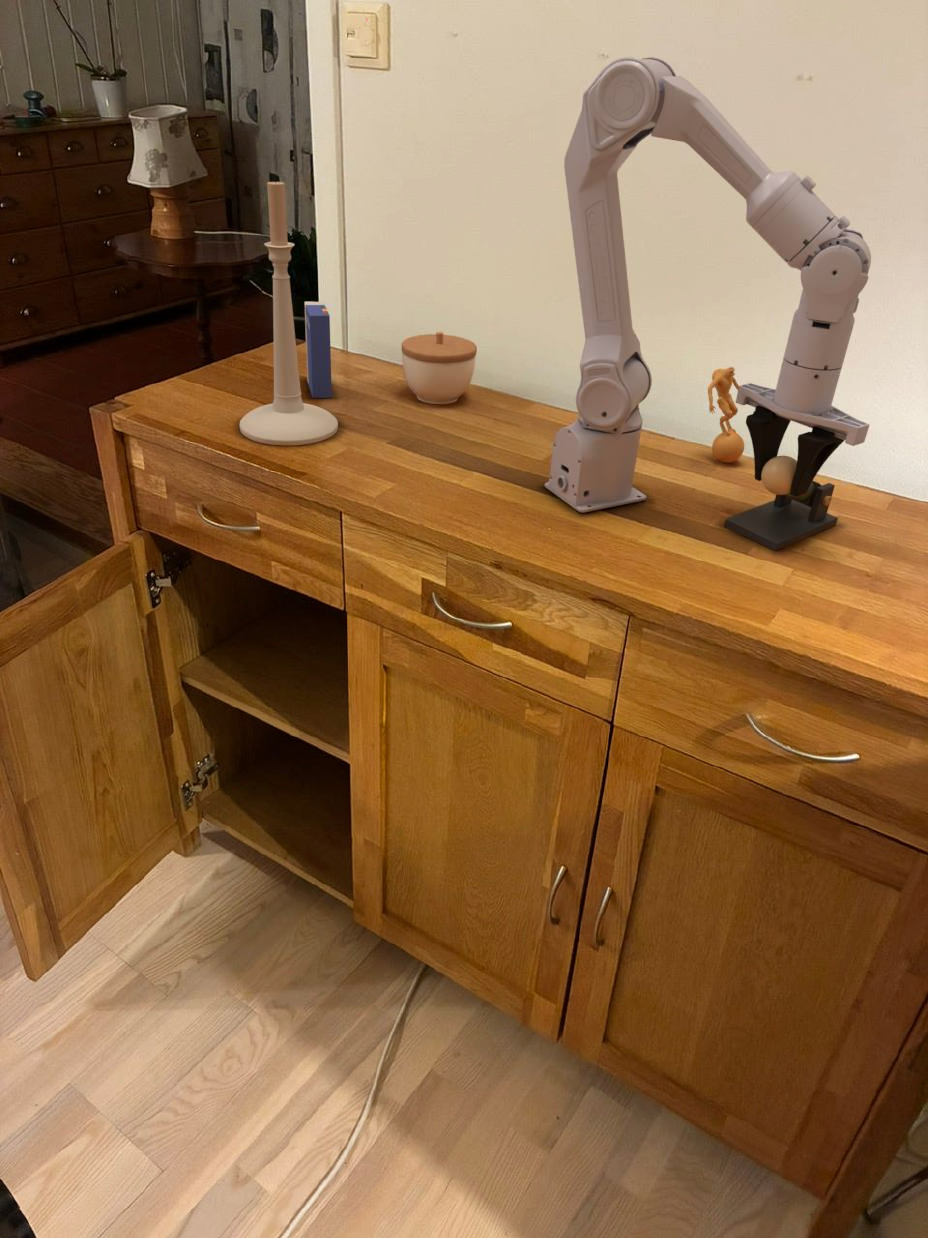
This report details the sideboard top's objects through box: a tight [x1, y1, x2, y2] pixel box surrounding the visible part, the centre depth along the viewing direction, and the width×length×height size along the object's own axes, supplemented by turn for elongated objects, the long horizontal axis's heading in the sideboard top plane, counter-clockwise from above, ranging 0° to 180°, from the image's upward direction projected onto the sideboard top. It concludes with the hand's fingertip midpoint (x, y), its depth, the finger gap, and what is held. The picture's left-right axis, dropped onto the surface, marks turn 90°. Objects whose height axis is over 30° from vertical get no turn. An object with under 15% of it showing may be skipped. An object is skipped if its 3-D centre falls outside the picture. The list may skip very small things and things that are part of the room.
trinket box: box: [401, 331, 478, 405], centre depth 132 cm, size 11×11×9 cm
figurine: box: [707, 366, 745, 464], centre depth 116 cm, size 8×6×12 cm
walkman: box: [304, 301, 333, 399], centre depth 132 cm, size 8×3×12 cm, turn 14°
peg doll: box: [761, 455, 823, 507], centre depth 101 cm, size 4×4×10 cm
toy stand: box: [723, 482, 839, 552], centre depth 102 cm, size 12×7×5 cm, turn 128°
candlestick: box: [239, 178, 339, 446], centre depth 113 cm, size 13×13×30 cm
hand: (780, 485), depth 100 cm, fingers closed on peg doll, 4 cm apart
